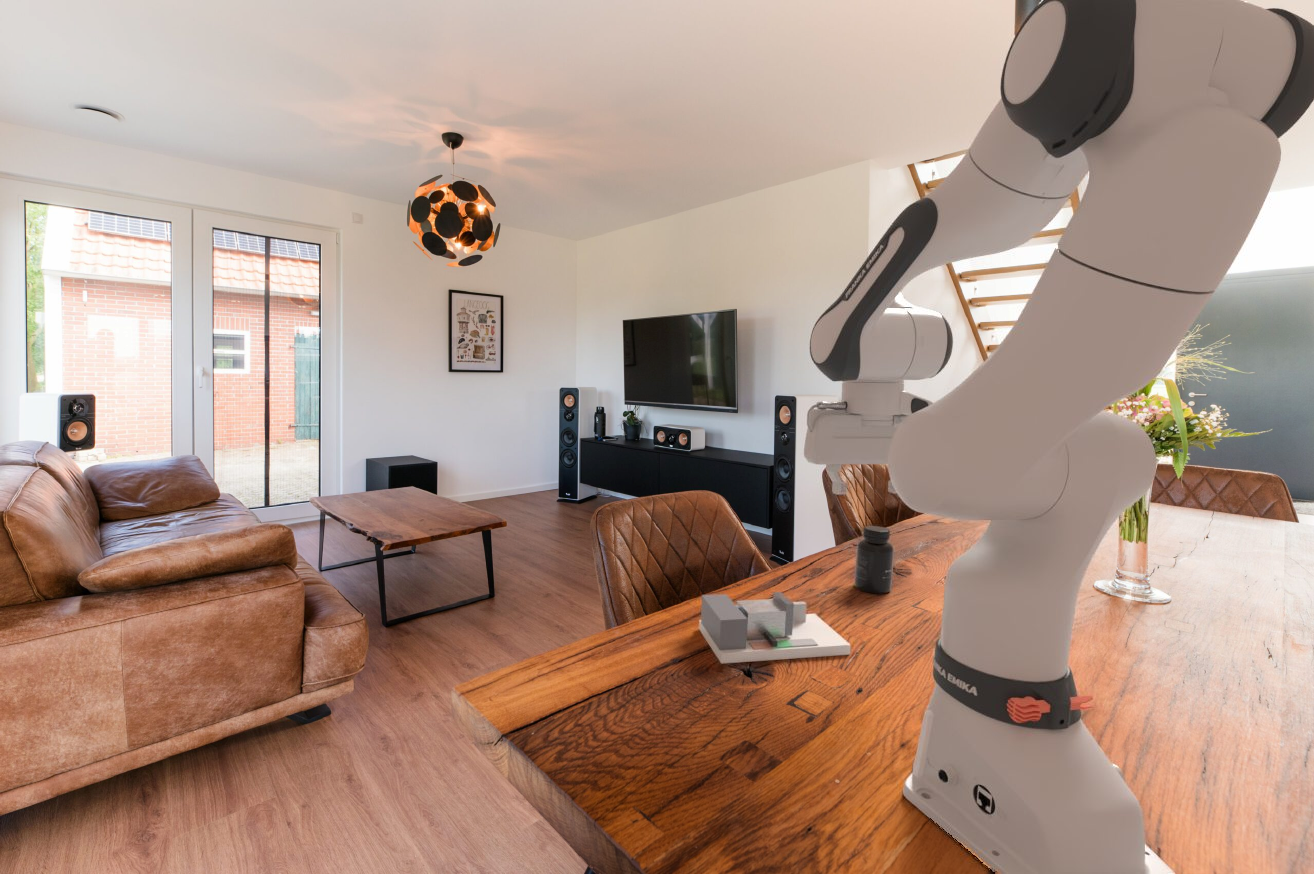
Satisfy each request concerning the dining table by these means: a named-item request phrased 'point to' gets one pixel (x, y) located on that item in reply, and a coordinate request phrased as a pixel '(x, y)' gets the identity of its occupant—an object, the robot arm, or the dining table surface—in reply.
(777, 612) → the grey sliding block
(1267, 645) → the dining table surface
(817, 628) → the gauge base
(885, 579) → the supplement bottle
